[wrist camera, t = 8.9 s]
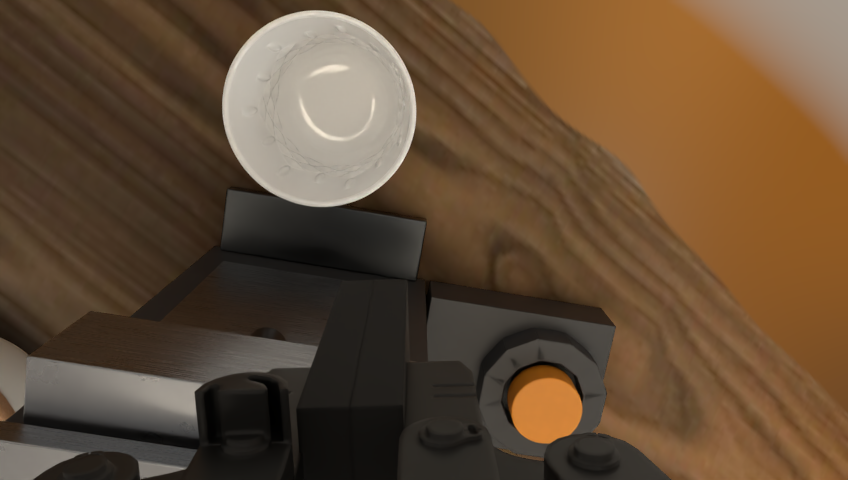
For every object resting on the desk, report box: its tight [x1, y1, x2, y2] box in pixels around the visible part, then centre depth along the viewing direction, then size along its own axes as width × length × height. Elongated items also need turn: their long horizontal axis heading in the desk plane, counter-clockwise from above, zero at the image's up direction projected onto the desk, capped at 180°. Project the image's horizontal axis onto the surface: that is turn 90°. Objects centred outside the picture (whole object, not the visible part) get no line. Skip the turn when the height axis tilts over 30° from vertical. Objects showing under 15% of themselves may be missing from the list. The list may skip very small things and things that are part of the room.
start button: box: [507, 365, 582, 444], centre depth 37 cm, size 4×4×2 cm
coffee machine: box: [0, 187, 428, 480], centre depth 31 cm, size 12×12×23 cm
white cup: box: [222, 10, 416, 207], centre depth 35 cm, size 8×8×10 cm
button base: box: [426, 281, 616, 458], centre depth 40 cm, size 10×8×5 cm
